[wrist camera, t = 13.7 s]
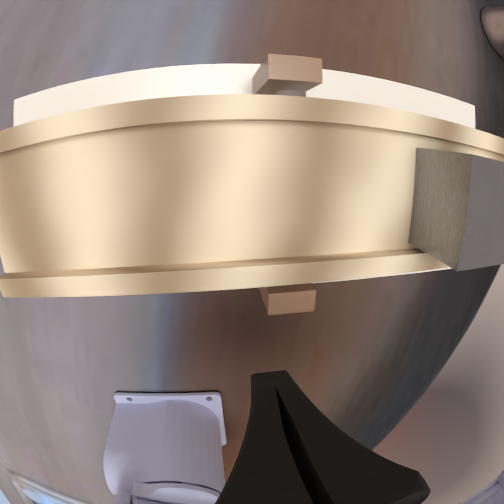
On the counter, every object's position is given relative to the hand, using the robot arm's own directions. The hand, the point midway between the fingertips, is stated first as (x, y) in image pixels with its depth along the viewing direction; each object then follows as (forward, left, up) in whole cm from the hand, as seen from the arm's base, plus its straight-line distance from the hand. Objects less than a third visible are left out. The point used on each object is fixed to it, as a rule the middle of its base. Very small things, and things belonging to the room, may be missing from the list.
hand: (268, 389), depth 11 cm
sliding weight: (+11, +7, -4) cm, 13 cm away
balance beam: (+2, +7, -5) cm, 9 cm away
